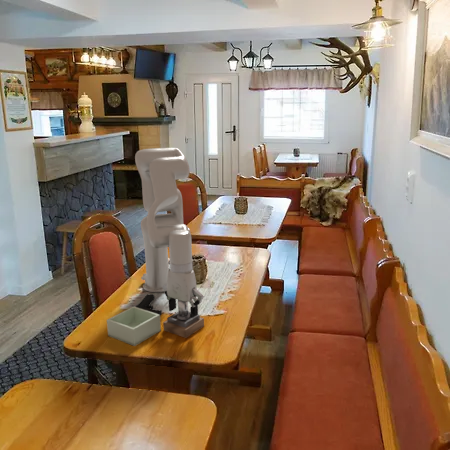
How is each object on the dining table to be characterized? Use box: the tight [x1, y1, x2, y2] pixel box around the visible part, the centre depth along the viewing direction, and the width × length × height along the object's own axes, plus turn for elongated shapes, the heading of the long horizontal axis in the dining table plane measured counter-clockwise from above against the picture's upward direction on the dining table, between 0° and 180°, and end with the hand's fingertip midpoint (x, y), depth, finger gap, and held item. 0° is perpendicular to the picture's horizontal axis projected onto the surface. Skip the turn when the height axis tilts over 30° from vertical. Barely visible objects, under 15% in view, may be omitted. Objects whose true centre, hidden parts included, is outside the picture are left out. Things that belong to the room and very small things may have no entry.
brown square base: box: [162, 310, 205, 338], centre depth 163 cm, size 10×10×4 cm
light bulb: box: [177, 299, 190, 322], centre depth 161 cm, size 4×4×8 cm
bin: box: [106, 306, 162, 347], centre depth 160 cm, size 13×13×6 cm
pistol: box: [135, 293, 163, 317], centre depth 178 cm, size 3×20×11 cm
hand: (183, 312), depth 162 cm, fingers open, 9 cm apart
